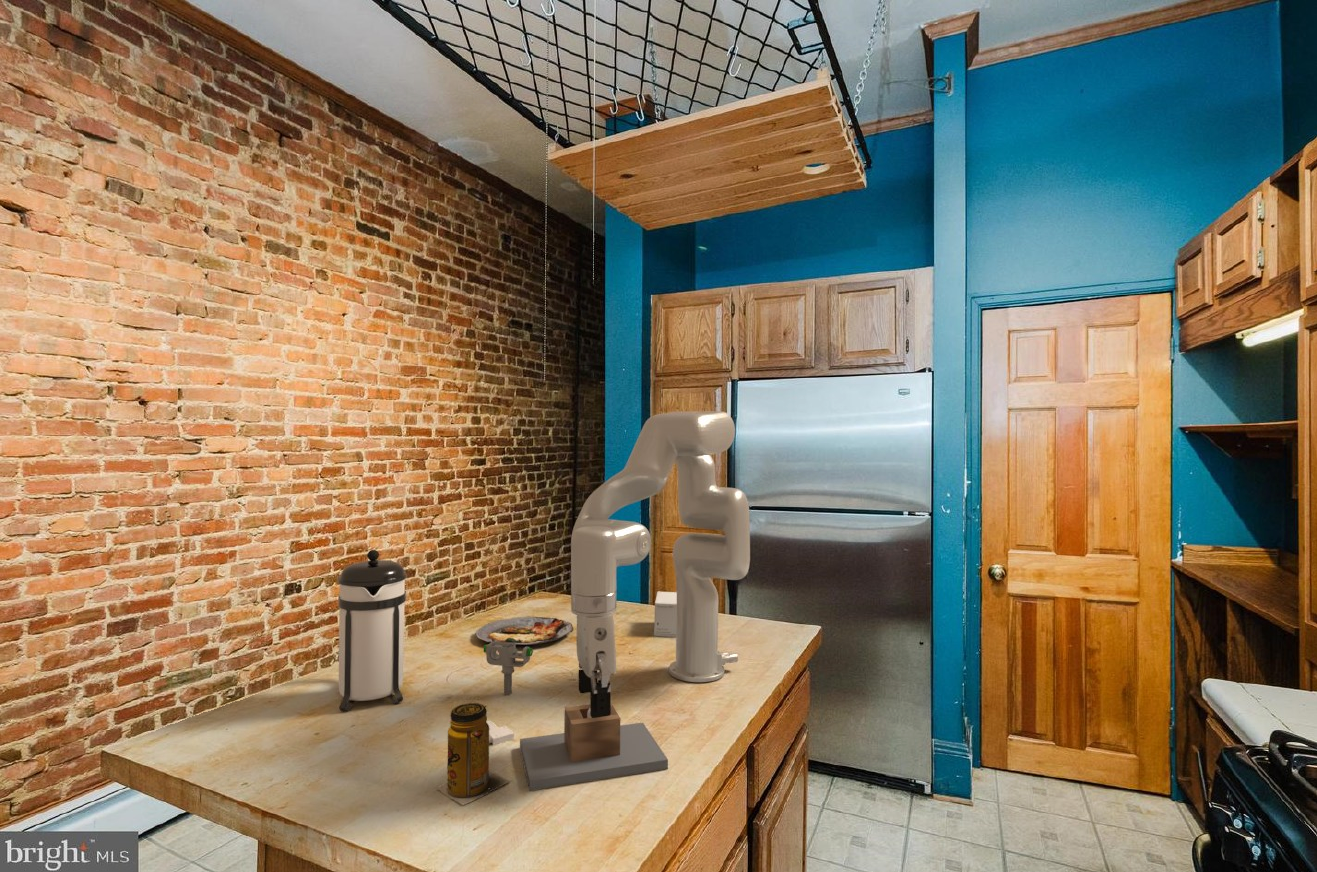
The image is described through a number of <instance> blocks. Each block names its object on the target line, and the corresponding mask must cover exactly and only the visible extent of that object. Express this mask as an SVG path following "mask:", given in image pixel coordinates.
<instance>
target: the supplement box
mask: <svg viewBox="0 0 1317 872" xmlns="http://www.w3.org/2000/svg"><path fill="white" fill-rule="evenodd" d="M656 592H657V593H656V598H655V602H654V623H653V625H654V626H653V637H669V638H670V637H673V638H676V613H677V591H674V592H673V591H659V590H658V591H656Z"/></svg>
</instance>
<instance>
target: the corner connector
mask: <svg viewBox="0 0 1317 872" xmlns="http://www.w3.org/2000/svg"><path fill="white" fill-rule="evenodd" d="M486 722H487V724H488V725H489V744H492V745H493V746H496V745H501V744H504V743H507V742H506V741H508V742H510V741H511V742H512V741H513V740H515V733H514V731H512V730H511V729H510V728H509V727H508V726H507V725H503V726H498V725H496V724H495V723H494V722H493V721H492V720H487V721H486ZM500 743H501V744H500Z"/></svg>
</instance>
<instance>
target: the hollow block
mask: <svg viewBox="0 0 1317 872" xmlns="http://www.w3.org/2000/svg"><path fill="white" fill-rule="evenodd" d="M589 709H590V704H582V705H573V706H564V717H563V719H564V720H563V721H564V726H563V727H564V728H563V729H564V731H563V733H564V744H565V746H566V749H567V752H568V754H569V757H570V760H571V762H576V761H583V760H590V759H596V758H603V757H610V756H617V755H620V725H621V717H620V715H619V713H618V711H617V710H616V709H615V707H614V705H613V703H612V702H611V714H610V715H609V716H605V717H598V718H587V712H588V710H589Z"/></svg>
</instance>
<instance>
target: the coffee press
mask: <svg viewBox="0 0 1317 872" xmlns="http://www.w3.org/2000/svg"><path fill="white" fill-rule="evenodd" d="M366 557H367V559H368V560H365V561H364V560H363V561H359V562H355V563H352V564H349V565H348V566H346V567H345V568H343V569H342V571H341V573H340V575H339V576H338V577H337V584H338V585H339V595H338V598H337V599H338V601H337V602H338V605H337V606H338V608H339V616H338V617H339V621H338V623H339V624H338V629H339V630H338V632H339V635H338V692H339V694H340V696H342V700H341V702H340V704H339V709H338V710H339V711H341V712H345V713H346V712H349V711H350V710H351V708H352V707H353V705H354V703H356V702H360V701H361V702H364V701H365V702H366V701H374V700H379V699H382V698H389V700H390V701H391V702H392V703H393V704H394V705H398V704H399V703H402V702H403V701H404V697H403V694H402V692H401V690H400V689H401V687H402V685H403V684H404V673H405V672H404V667H405V666H404V663H405V662H404V660H405V659H404V657H405V656H404V655H405V652H404V651H405V603H406V600H407V598H406V595H407V594H406V593H407V591H406V590H405V589H406V587H405V586H406V585H405V583H406V579H407V577H408V573H407V572H406V571H405V568H404V567H403V565H402V564H400V563H398V562H396V561H392V560H384V559H383V560H382V559H379V557H380V553H379V551H378V550H376V549H371V550H369V551H368V553H367V554H366ZM378 559H379V560H378Z"/></svg>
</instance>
